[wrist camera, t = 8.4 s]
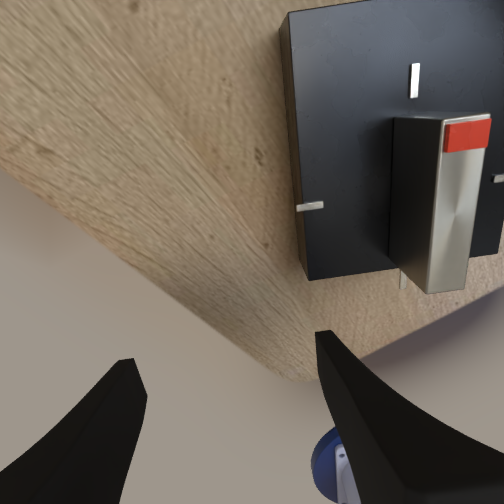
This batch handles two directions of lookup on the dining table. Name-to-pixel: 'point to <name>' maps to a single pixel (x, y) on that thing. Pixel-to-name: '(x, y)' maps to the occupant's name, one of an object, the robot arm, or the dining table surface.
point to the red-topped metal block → (436, 195)
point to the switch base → (383, 116)
